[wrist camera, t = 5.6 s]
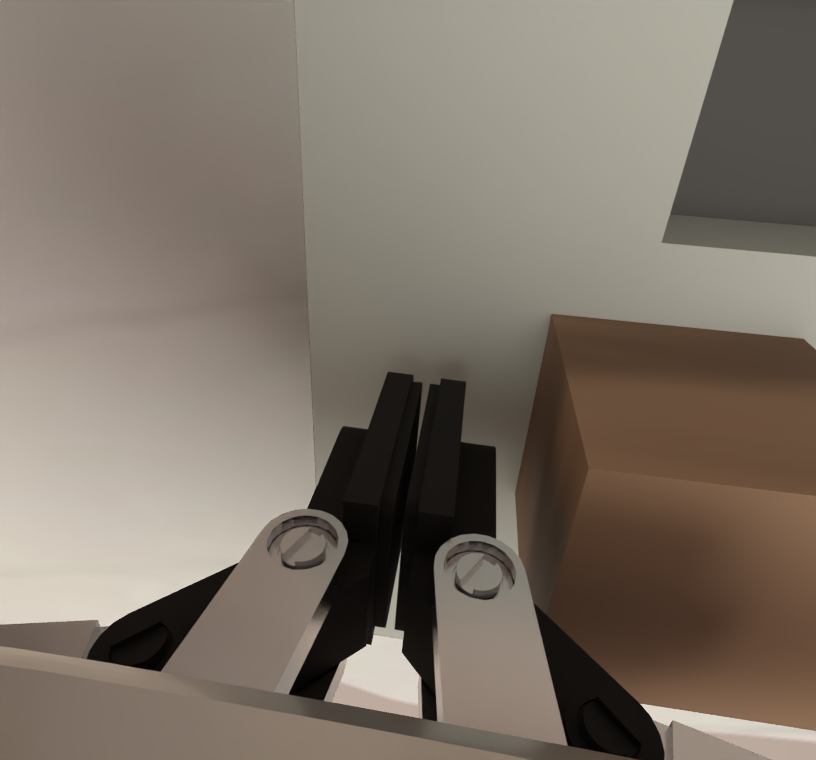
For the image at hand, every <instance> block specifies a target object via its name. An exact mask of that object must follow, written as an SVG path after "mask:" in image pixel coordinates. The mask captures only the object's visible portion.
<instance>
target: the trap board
mask: <svg viewBox="0 0 816 760" xmlns="http://www.w3.org/2000/svg"><path fill="white" fill-rule="evenodd" d="M294 10H295V33H296V55H297V77H298V99H299V121H300V143H301V165H302V187H303V210H304V232H305V254H306V276H307V298H308V320H309V342H310V364H311V386H312V409H313V431H314V453H315V475H316V487H317V485H318V482H319V480H320V477H321V475H322V473H323V470H324V468H325V465H326V463H327V461H328V458H329V456H330V454H331V451H332V449H333V446H334V444H335V442H336V439H337V437H338V435H339V432H340V430H341V428H342V427H343V426H348V427H355V428H363V429H368V427H369V424H370V422H371V419H372V416H373V413H374V410H375V407H376V404H377V401H378V398H379V396H380V393H381V390H382V387H383V384H384V381H385V378H386V375H387V373H388V372H396V373H404V374H412V375H413V376H414V382H422V396H421V407H420V418H419V428H418V439H417V446H418V441H419V436H420V431H421V426H422V421H423V416H424V411H425V406H426V401H427V396H428V391H429V387H430V384H437V385H440V381H441V378H443V379H451V380H459V381H466V391H465V402H464V413H463V424H462V435H461V442H465V443H472V444H480V445H487V446H494V447H496V539H497V540H500V541H501V542H503V543H504V544H506V545H507V546H509V547H510V548H511V549H512V550H513V551H514V552H515V553H516V554H517V555H518V557H519V554H518V537H517V519H516V502H515V491H516V486H517V481H518V476H519V471H520V466H521V461H522V456H523V452H524V447H525V442H526V437H527V432H528V427H529V422H530V417H531V412H532V407H533V403H534V398H535V393H536V388H537V383H538V378H539V373H540V368H541V363H542V359H543V354H544V349H545V344H546V339H547V334H548V329H549V324H550V319H551V315H552V314H558V315H568V316H579V317H589V318H599V319H609V320H619V321H629V322H639V323H649V324H660V325H670V326H680V327H690V328H700V329H710V330H720V331H730V332H741V333H751V334H761V335H771V336H781V337H791V338H801V339H805V340H806V341H807V342H808V343H809V344H810V345H811V346H812V347H813V348H815V349H816V0H294ZM416 451H417V450H416ZM400 558H401V552H400V557H399V563H398V568H397V573H396V578H395V583H394V589H393V594H392V599H391V604H390V609H389V614H388V620H387V624H386V628H382V627H376V626H375V629H374V634H373V635H378V636H384V637H391V638H397V639H403V637H404V631H400V630H395V617H396V605H397V593H398V581H399V570H400Z"/></svg>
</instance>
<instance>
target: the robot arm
mask: <svg viewBox="0 0 816 760" xmlns="http://www.w3.org/2000/svg"><path fill="white" fill-rule="evenodd" d="M465 391H466V381H459V380H451V379H443V378H441V381H440V385H437V384H430V387H429V391H428V396H427V401H426V406H425V411H424V416H423V421H422V426H421V431H420V436H419V441H418V446H417V439H418V428H419V418H420V407H421V396H422V382H414V376H413V375H412V374H404V373H396V372H388V373H387V375H386V378H385V381H384V384H383V387H382V390H381V393H380V396H379V398H378V401H377V404H376V407H375V410H374V413H373V416H372V419H371V422H370V424H369V427H368V429H363V428H355V427H348V426H343V427H342V428H341V430H340V432H339V435H338V437H337V439H336V442H335V444H334V446H333V449H332V451H331V454H330V456H329V458H328V461H327V463H326V465H325V468H324V470H323V473H322V475H321V477H320V480H319V482H318V485H317V487H316V489H315V492H314V494H313V496H312V499H311V501H310V504H309V506H308V508H307V509H301V510H294V511H290V512H287V513H284V514H282V515H280V516H278V517H277V518H275V519H273V520H271V521H270V522H269V523H268V524H267V525H266V527H265V528H264V529H263V530H262V531H261V532H260V534H259V535H258V537H257V538H256V539H255V541H254V542H253V544H252V545H251V546H250V548H249V549H248V551H247V552H246V553H245V555H244V556H243V558H242V559H241V560H240V562H239V563H237V564H235V565H233V566H230V567H228V568H226V569H224V570H222V571H220V572H217V573H215V574H213V575H211V576H209V577H207V578H205V579H202V580H200V581H198V582H196V583H194V584H192V585H189V586H187V587H185V588H183V589H181V590H179V591H177V592H174V593H172V594H170V595H168V596H166V597H164V598H161V599H159V600H157V601H155V602H153V603H151V604H149V605H146V606H144V607H142V608H140V609H138V610H136V611H133V612H131V613H129V614H127V615H126V616H124V617H122V618H121V619H119V620H117V621H116V622H114V623H113V624H111V625H110V626H106V627H100V625H99V622H98V620H87V621H67V622H47V623H26V624H6V625H0V760H771V759H769V758H766V757H764V756H761V755H759V754H756V753H754V752H751V751H749V750H746V749H744V748H741V747H739V746H736V745H734V744H731V743H729V742H726V741H723V740H721V739H718V738H716V737H714V736H711V735H709V734H706V733H704V732H701V731H698V730H696V729H693V728H691V727H688V726H686V725H683V724H681V723H678V722H676V721H672V722H671V724H670V726H666V725H664V724H661V723H659V722H656V721H654V720H652V718H651V716H650V715H649V714H648V713H647V712H646V710H645V709H644V708H643V707H642V706H641V705H640V703H639V702H638V701H637V700H636V699H635V698H634V697H633V696H632V695H630V694H629V693H628V692H627V691H626V690H625V689H624V688H623V687H622V686H621V685H620V684H619V683H618V682H617V681H616V680H615V679H614V678H613V677H611V676H610V675H609V674H608V673H607V672H606V671H605V670H604V669H603V668H602V667H601V666H600V665H599V664H598V663H597V662H596V661H595V660H594V659H592V658H591V657H590V656H589V655H588V654H587V653H586V652H585V651H584V650H583V649H582V648H581V647H580V646H579V645H578V644H577V643H576V642H575V641H574V640H572V639H571V638H570V637H569V636H568V635H567V634H566V633H565V632H564V631H563V630H562V629H561V628H560V627H559V626H558V625H557V624H556V623H555V622H553V621H552V620H551V619H550V618H549V617H548V616H547V615H546V614H545V613H544V612H543V611H542V610H541V609H540V608H539V607H538V606H537V605H536V604H534V603H533V600H532V596H531V592H530V588H529V583H528V579H527V575H526V571H525V568H524V566H523V564H522V561H521V559H520V558H519V557H518V555H517V554H516V553H515V552H514V551H513V550H512V549H511V548H510V547H509V546H507V545H506V544H504V543H503V542H501V541H500V540H497V539H496V447H494V446H487V445H480V444H472V443H465V442H461V435H462V424H463V413H464V402H465ZM416 450H417V451H416ZM400 552H401V558H400V570H399V581H398V593H397V605H396V617H395V630H400V631H404V637H403V647H402V653H403V654H404V656H405V657H406V658H407V660H408V661H409V662H410V663H411V665H412V666H413V667H414V669H415V670H416V671H417V673H418V674H419V682H418V700H419V718H414V717H409V716H404V715H398V714H393V713H387V712H381V711H376V710H371V709H365V708H359V707H354V706H348V705H343V704H338V703H332V700H333V697H334V695H335V692H336V690H337V687H338V685H339V683H340V680H341V678H342V675H343V673H344V670H345V665H346V661H347V658H348V657H349V656H351V655H352V654H354V653H356V652H357V651H359V650H360V649H362V648H364V647H365V646H366V644H369V645H371V643H372V639H373V634H374V629H375V626H376V627H382V628H386V624H387V620H388V614H389V609H390V604H391V599H392V594H393V589H394V583H395V578H396V573H397V568H398V563H399V557H400Z"/></svg>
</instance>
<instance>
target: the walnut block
mask: <svg viewBox="0 0 816 760" xmlns="http://www.w3.org/2000/svg"><path fill="white" fill-rule="evenodd" d="M515 502H516V519H517V537H518V554H519V558H520V559H521V561H522V564H523V566H524V568H525V571H526V575H527V579H528V583H529V588H530V592H531V596H532V600H533V603H534V604H536V605H537V606H538V607H539V608H540V609H541V610H542V611H543V612H544V613H545V614H546V615H547V616H548V617H549V618H550V619H551V620H552V621H553V622H555V623H556V624H557V625H558V626H559V627H560V628H561V629H562V630H563V631H564V632H565V633H566V634H567V635H568V636H569V637H570V638H571V639H572V640H574V641H575V642H576V643H577V644H578V645H579V646H580V647H581V648H582V649H583V650H584V651H585V652H586V653H587V654H588V655H589V656H590V657H591V658H592V659H594V660H595V661H596V662H597V663H598V664H599V665H600V666H601V667H602V668H603V669H604V670H605V671H606V672H607V673H608V674H609V675H610V676H611V677H613V678H614V679H615V680H616V681H617V682H618V683H619V684H620V685H621V686H622V687H623V688H624V689H625V690H626V691H627V692H628V693H629V694H630V695H632V696H633V697H634V698H635V699H636V700H637V701H638V702H639V703H641V704H647V705H654V706H660V707H667V708H673V709H679V710H686V711H692V712H699V713H705V714H711V715H718V716H724V717H731V718H737V719H743V720H750V721H756V722H763V723H769V724H775V725H782V726H788V727H795V728H801V729H807V730H814V731H816V349H815V348H813V347H812V346H811V345H810V344H809V343H808V342H807V341H806V340H805V339H801V338H791V337H781V336H771V335H761V334H751V333H741V332H730V331H720V330H710V329H700V328H690V327H680V326H670V325H660V324H649V323H639V322H629V321H619V320H609V319H599V318H589V317H579V316H568V315H558V314H552V315H551V319H550V324H549V329H548V334H547V339H546V344H545V349H544V354H543V359H542V363H541V368H540V373H539V378H538V383H537V388H536V393H535V398H534V403H533V407H532V412H531V417H530V422H529V427H528V432H527V437H526V442H525V447H524V452H523V456H522V461H521V466H520V471H519V476H518V481H517V486H516V491H515Z"/></svg>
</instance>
